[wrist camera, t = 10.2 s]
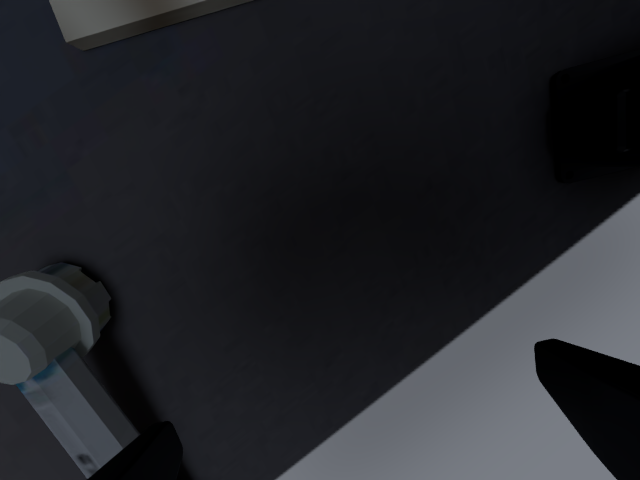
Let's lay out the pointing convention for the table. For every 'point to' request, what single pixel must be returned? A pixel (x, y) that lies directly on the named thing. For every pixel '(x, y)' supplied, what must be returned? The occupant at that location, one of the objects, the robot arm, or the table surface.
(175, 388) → the table surface
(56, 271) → the grey elongated piece
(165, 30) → the table surface
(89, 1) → the socket board
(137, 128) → the table surface
